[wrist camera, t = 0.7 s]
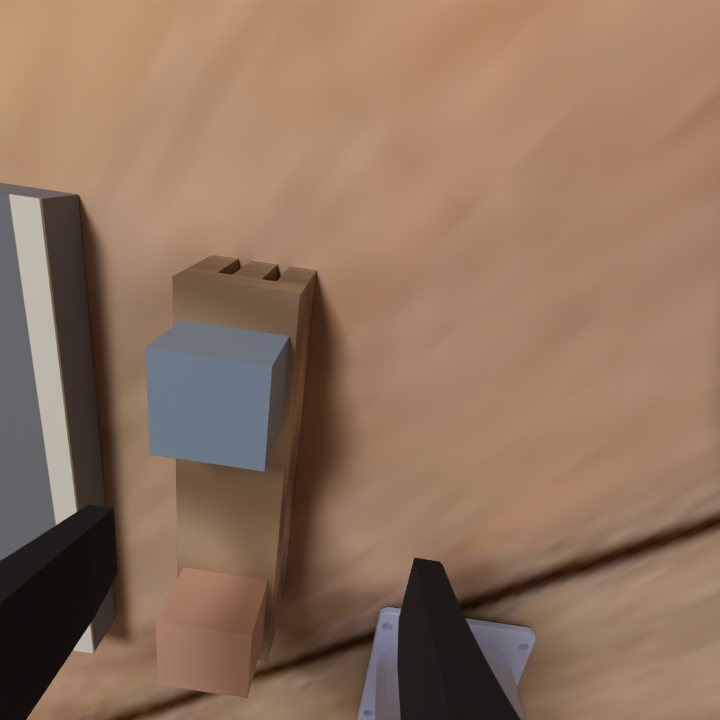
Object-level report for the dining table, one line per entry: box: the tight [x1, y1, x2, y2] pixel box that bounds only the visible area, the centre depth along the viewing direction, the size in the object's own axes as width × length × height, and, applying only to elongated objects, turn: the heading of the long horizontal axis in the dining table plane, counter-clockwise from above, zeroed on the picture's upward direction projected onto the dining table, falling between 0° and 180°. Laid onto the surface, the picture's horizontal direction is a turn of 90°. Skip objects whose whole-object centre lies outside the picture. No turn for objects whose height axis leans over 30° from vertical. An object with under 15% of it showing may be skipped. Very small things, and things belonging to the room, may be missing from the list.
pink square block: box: [156, 567, 268, 698], centre depth 19 cm, size 4×4×2 cm
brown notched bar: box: [173, 255, 316, 661], centre depth 20 cm, size 17×4×4 cm, turn 172°
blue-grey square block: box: [146, 320, 289, 471], centre depth 15 cm, size 4×4×2 cm
